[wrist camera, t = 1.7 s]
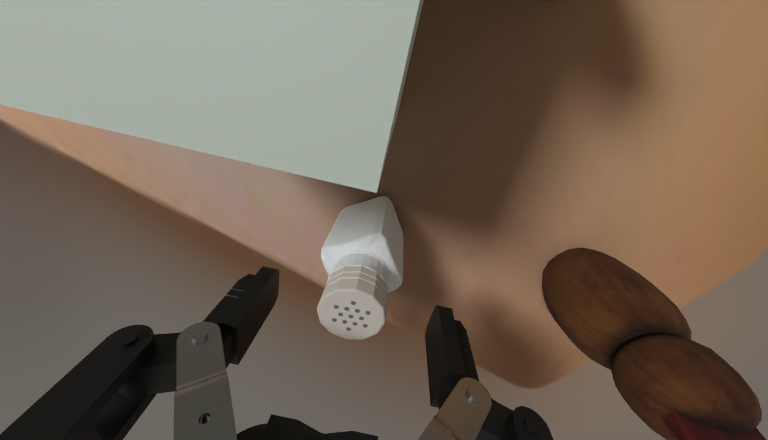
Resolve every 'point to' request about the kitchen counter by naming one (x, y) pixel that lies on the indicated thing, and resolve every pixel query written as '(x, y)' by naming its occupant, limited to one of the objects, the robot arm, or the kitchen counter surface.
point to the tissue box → (221, 75)
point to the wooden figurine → (648, 349)
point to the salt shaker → (361, 268)
